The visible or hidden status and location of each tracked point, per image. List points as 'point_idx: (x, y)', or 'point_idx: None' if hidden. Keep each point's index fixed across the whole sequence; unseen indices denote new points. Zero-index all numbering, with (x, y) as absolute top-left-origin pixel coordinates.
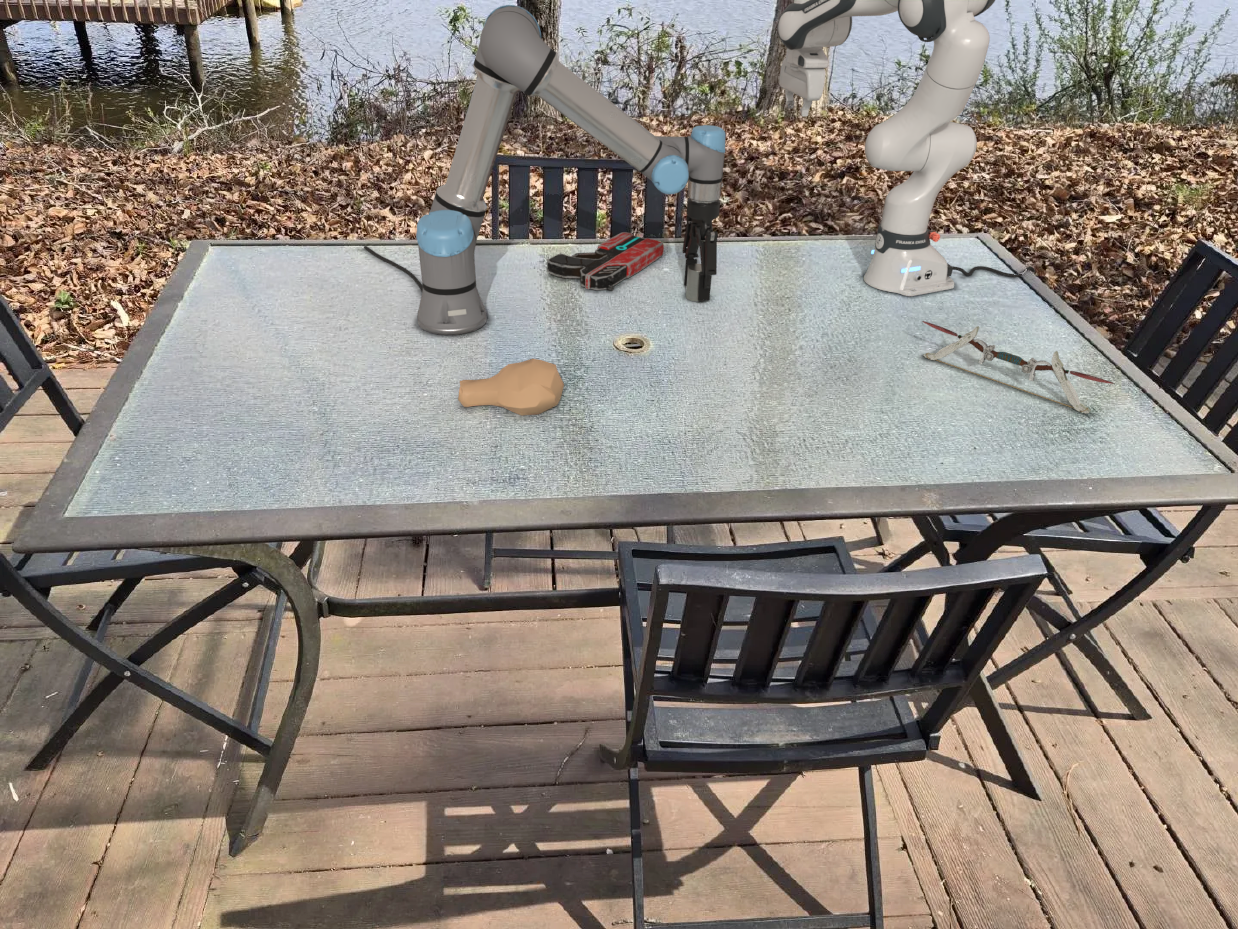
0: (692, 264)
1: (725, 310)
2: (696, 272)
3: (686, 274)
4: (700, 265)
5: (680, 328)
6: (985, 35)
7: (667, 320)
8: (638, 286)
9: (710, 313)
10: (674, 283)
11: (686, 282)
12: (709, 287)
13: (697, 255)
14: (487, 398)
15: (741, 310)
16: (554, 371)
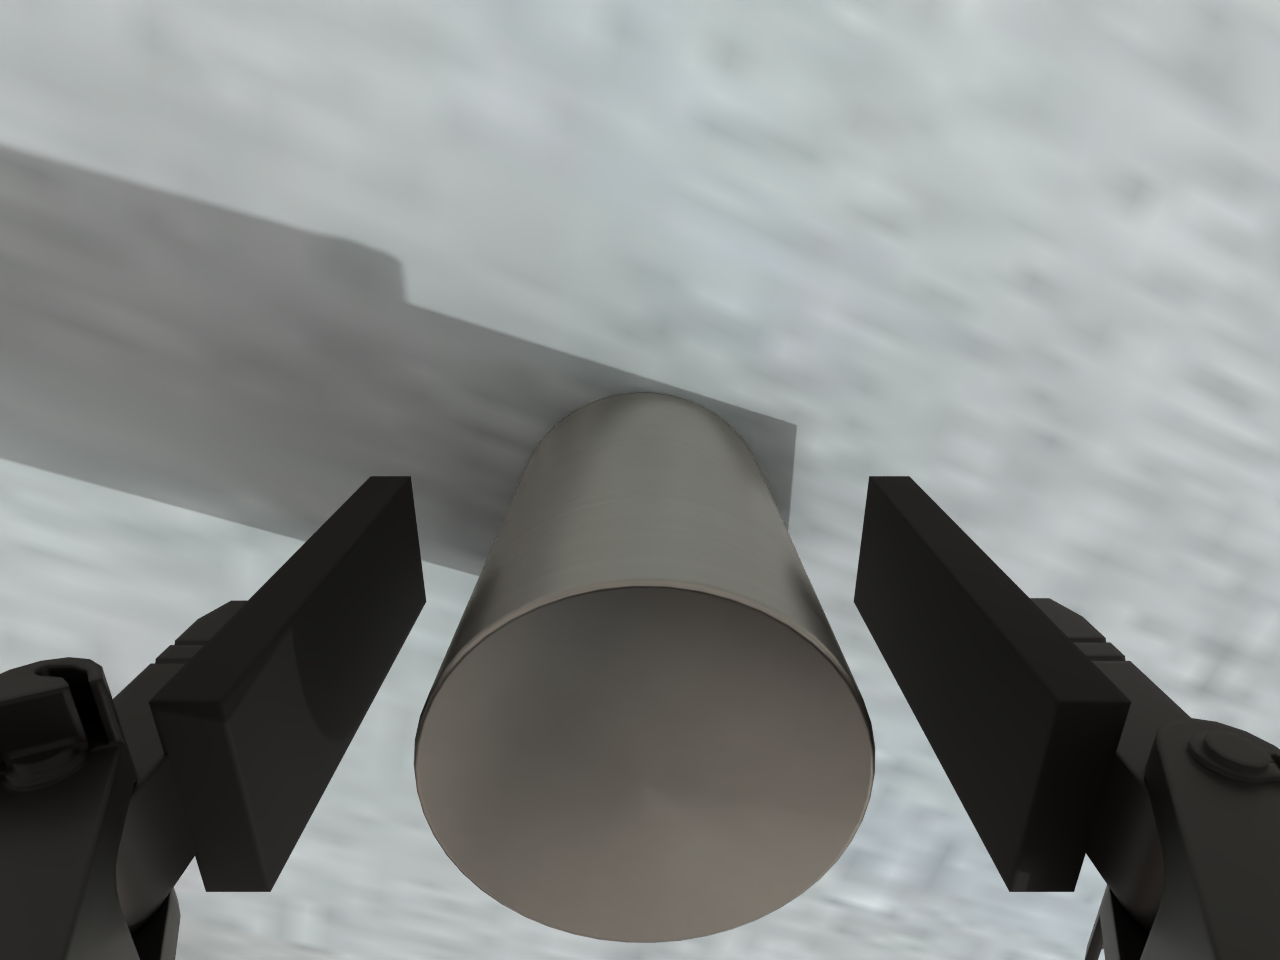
0: (462, 838)
1: (1101, 323)
2: (822, 855)
3: (375, 689)
4: (545, 723)
5: None
6: None
7: (1046, 895)
8: (278, 904)
9: (1092, 518)
10: (212, 601)
11: (411, 612)
12: (1067, 616)
13: (53, 705)
14: None
15: (1203, 107)
16: None
